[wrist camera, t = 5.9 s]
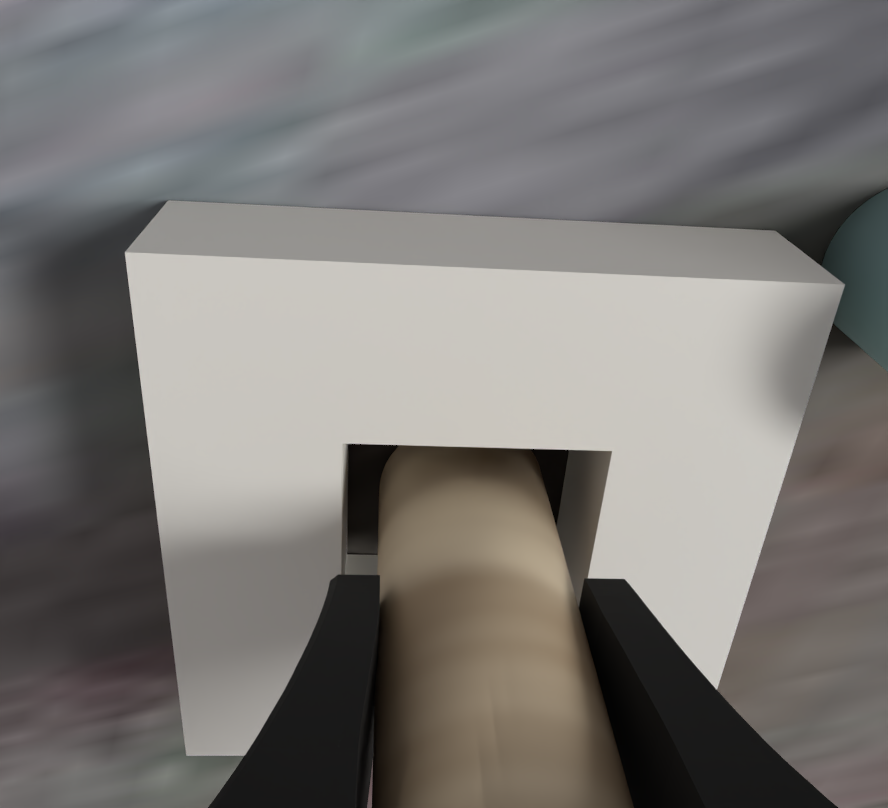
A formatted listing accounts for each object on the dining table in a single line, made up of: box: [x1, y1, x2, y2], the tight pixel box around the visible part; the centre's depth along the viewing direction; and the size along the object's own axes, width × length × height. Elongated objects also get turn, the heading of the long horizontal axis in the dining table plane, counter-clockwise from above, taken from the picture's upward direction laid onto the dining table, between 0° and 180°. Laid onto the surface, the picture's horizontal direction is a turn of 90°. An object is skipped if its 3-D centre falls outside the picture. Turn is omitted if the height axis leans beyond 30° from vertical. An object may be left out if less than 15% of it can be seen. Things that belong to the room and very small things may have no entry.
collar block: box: [125, 200, 845, 756], centre depth 15 cm, size 10×10×2 cm
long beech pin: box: [372, 445, 634, 808], centre depth 12 cm, size 3×3×8 cm
